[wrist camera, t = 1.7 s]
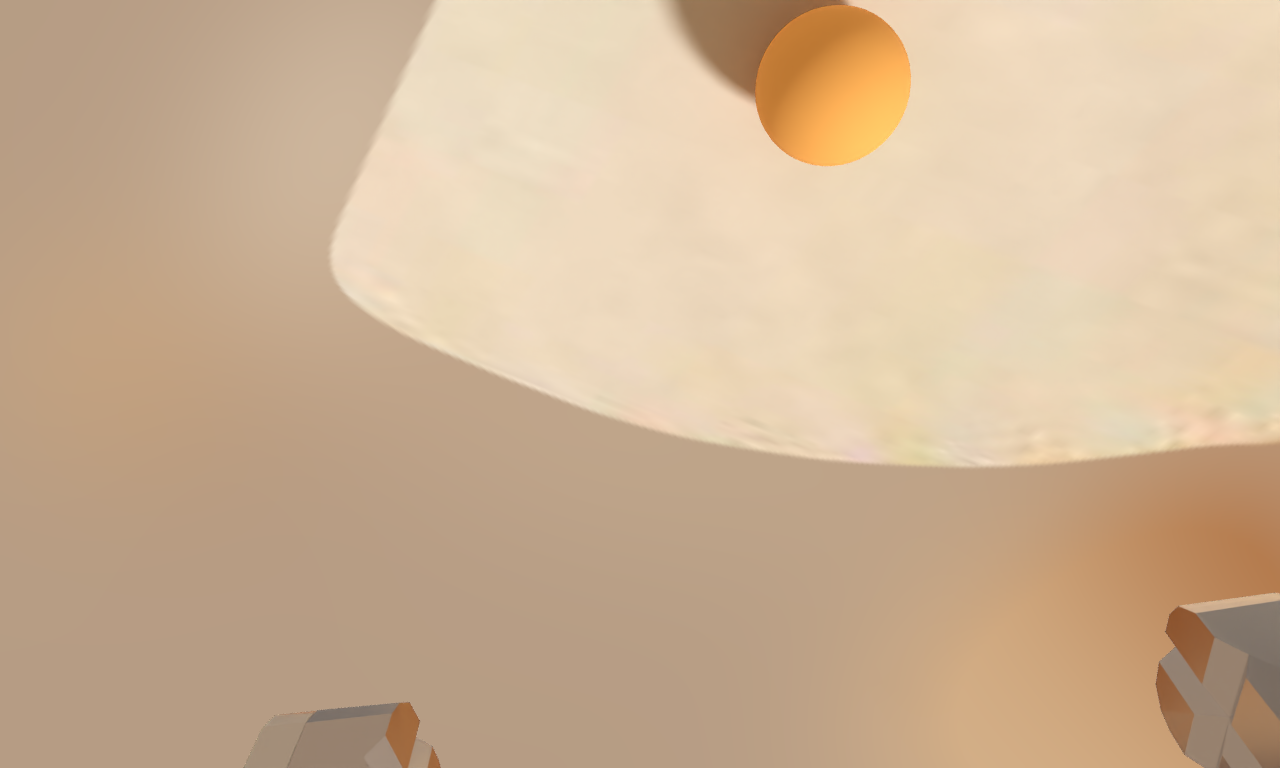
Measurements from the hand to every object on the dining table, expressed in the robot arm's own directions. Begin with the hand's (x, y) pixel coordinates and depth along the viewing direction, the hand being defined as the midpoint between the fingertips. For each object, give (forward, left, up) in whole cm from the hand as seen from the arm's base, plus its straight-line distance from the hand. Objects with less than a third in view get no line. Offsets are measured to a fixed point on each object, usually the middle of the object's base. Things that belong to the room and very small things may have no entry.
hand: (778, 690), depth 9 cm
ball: (-4, -1, -25) cm, 26 cm away
